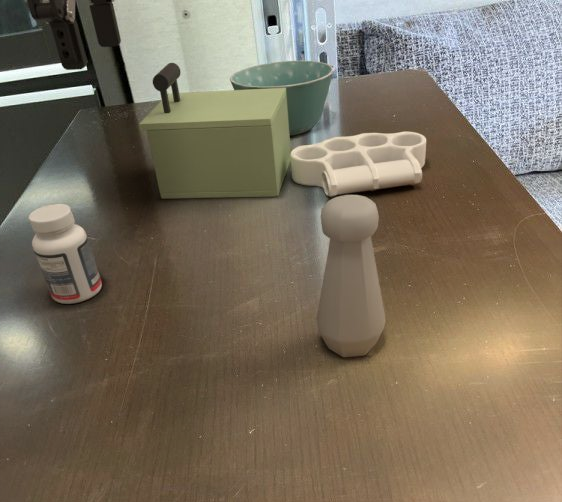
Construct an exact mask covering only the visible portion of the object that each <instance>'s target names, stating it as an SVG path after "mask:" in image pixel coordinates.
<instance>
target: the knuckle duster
mask: <svg viewBox="0 0 562 502" xmlns="http://www.w3.org/2000/svg"><path fill="white" fill-rule="evenodd" d="M426 152H427V138H426V136H425V135H423V134H421V133H418V132H415V131H400V132H393V133H384V132H383V133H381V132H362V133H360V134H359V133H358V134H356V135H350V136H349V135H348V136H335V137H332V138H331V137H330V138H327V139H325V140H323V141H320V142H317V143H313V144H306V145H305V144H304V145H303V144H302V145H299V146H297V147H295V148H293V149H292V150H291V154H290V159H291V161H290V171H291V172H290V173H291V179H292V181H293V182H294V183H295V184H298V185H301V186H305V187H307V186H309V187H320V188H322V189H323V191H324V193H325V195H326V196H327V197H330V198H334V197H336V196H337V195H347V194H353V193H361V192H367V191H368V192H369V191H370V192H374V191H377V190H381V189H389V188H390V189H391V188H396V187H402V186H403V187H404V186H416V185H418V184H421V183H422V182H423V170H422V169H423V168H424V166H425V164H426V154H427V153H426Z"/></svg>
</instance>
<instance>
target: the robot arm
mask: <svg viewBox="0 0 562 502" xmlns="http://www.w3.org/2000/svg"><path fill="white" fill-rule="evenodd" d="M26 1H27V5H28V9H29V13H30V15H31V17H32V19H33V20H34V21H44V23H45V24H46V25H49V26H50V29H51V32H52V36H53V39H54V42H55V46H56V49H57V54H58V57H59V60H60V63H61V66H62V68H63V69H64V70H66V71H74V70H75V71H76V70H83V69H84V68H86V67H87V65H88V61H87V60H88V59H87V56H86V52H85V48H84V45H83V41H82V37H81V34H80V29H79V25H78V22H77V21H75V19H76V0H42V1H40V0H26ZM87 1H88V3H89V4H90V5H89V11H90V14H91V18H92V21H93V22H92V23H93V27H94V31H95V35H96V40H97V43H98V45H99V46H100V47H102V48H110V47H117V46H119V45H120V44H121V42H122V39H121V34H120V30H119V25H118V20H117V16H116V12H115V7H114V2H115V1H116V0H87Z"/></svg>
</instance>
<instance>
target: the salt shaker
mask: <svg viewBox="0 0 562 502" xmlns="http://www.w3.org/2000/svg"><path fill="white" fill-rule="evenodd" d="M320 210H321V212H320V225H321V231H322V233H323V235H324V236H325V237H327V238H329V242H328V243H329V244H328V251H327V255H326V262H325V267H324V274H323V280H322V285H321V291H320V296H319V302H318V307H317V308H318V309H317V313H316V314H317V315H316V326H317V330H318V333H319V335H320V337H321V338H322V340H323V341H324V343H325V345H326V347H327V348H328V349H329V350H330V351H332V352H334V353H335V354H337V355H338V356H341V357H342V358H352V357H363V356H366V355H367V354H368V353H369V352H370V351H371V350H372V349H373V348H374V347H375V346H376V345H377V343H378V341H379V339H380V337H381V336H382V333H383V331H384V329H385V327H386V323H387V318H386V313H385V307H384V303H383V297H382V291H381V286H380V280H379V275H378V269H377V263H376V258H375V257H376V256H375V252H374V246H373V241H372V236H373V235H374V234H375V233H376V232H377V230H378V227H379V221H380V220H379V219H380V217H379V210H378V207H377V205H376V202H374V201H373V200H372V199H370V198H368V197H367V196H364V195H359V194H343V195H339V196H334V197H332V198H331V199H329V200H328V201H327V202H326V203H325V204H324V206H323V207H322V208H321V209H320Z"/></svg>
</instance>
